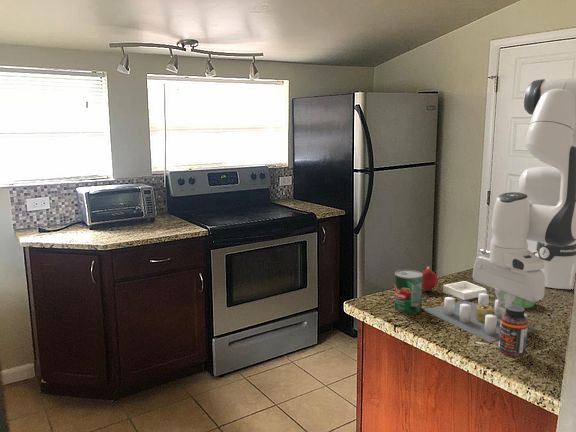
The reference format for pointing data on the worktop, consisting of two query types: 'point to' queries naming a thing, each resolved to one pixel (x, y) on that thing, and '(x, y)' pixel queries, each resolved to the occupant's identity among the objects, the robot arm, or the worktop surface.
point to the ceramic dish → (463, 290)
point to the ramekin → (521, 302)
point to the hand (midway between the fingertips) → (504, 307)
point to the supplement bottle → (513, 331)
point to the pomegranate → (428, 279)
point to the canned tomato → (408, 291)
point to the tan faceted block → (482, 312)
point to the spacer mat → (472, 317)
